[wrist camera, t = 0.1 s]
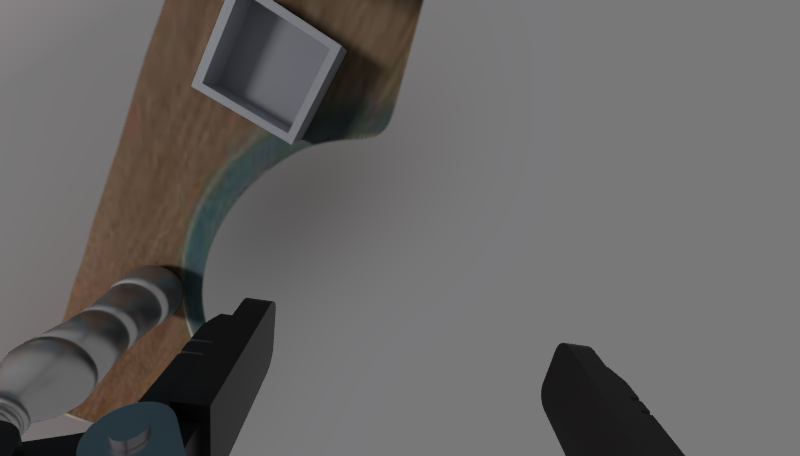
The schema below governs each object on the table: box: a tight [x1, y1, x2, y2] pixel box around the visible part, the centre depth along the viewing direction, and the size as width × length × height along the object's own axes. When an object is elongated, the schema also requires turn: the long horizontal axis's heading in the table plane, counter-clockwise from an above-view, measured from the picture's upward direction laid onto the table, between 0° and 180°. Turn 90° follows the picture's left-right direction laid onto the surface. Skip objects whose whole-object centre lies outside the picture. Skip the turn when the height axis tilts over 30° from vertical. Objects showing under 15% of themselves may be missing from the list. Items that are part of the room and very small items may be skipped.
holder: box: [191, 0, 347, 145], centre depth 33 cm, size 9×9×4 cm
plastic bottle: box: [0, 265, 183, 436], centre depth 33 cm, size 6×7×20 cm
